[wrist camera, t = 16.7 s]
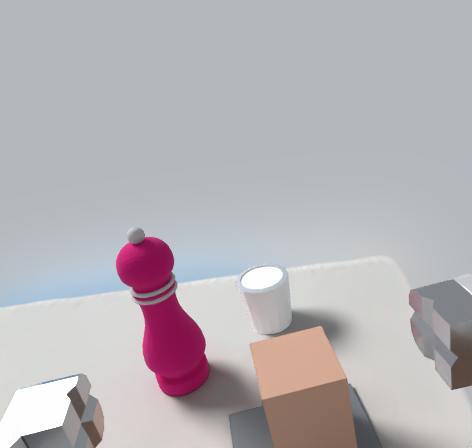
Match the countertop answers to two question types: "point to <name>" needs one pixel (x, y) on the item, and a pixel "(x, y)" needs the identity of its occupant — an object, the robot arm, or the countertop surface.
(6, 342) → the countertop surface
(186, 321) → the pepper mill
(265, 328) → the white cup
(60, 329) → the countertop surface
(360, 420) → the mat
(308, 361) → the tan rectangular block
